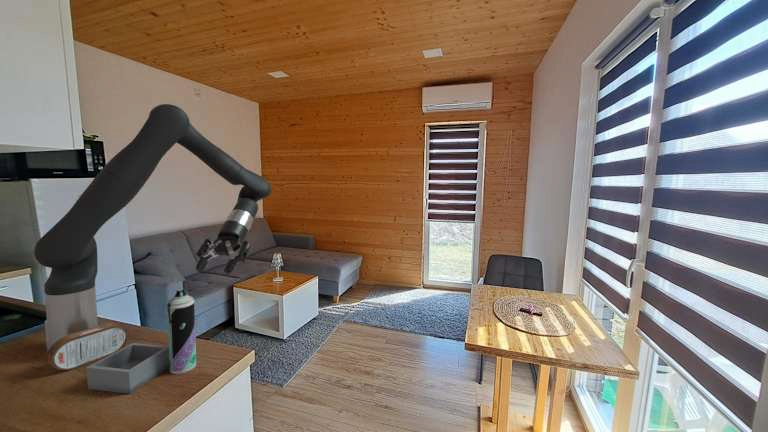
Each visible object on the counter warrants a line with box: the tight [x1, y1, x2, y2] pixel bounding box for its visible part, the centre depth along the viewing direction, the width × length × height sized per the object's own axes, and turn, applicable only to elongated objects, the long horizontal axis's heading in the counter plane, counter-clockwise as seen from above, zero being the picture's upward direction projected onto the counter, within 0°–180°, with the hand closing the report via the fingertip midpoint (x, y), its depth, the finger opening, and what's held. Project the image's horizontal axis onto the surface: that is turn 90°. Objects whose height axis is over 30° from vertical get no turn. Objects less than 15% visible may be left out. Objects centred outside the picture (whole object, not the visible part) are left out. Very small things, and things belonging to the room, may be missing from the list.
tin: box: [45, 322, 129, 371], centre depth 75 cm, size 15×3×8 cm, turn 152°
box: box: [86, 342, 170, 395], centre depth 70 cm, size 11×11×5 cm
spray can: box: [166, 289, 197, 375], centre depth 73 cm, size 6×6×20 cm
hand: (212, 271), depth 83 cm, fingers open, 8 cm apart
